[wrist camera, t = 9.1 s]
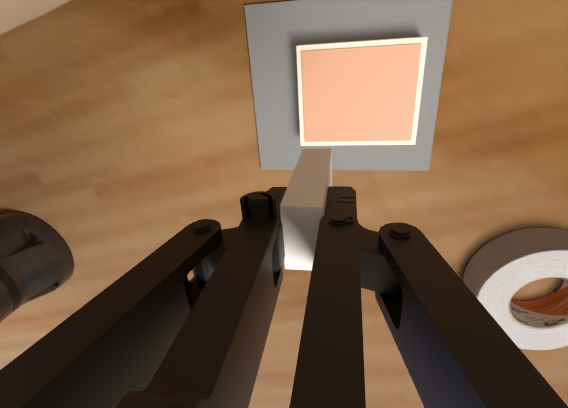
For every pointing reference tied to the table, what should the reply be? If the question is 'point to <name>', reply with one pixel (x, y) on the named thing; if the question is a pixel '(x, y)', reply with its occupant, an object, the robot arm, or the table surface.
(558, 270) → the tape roll
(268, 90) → the rubber mat
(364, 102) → the wooden plaque
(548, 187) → the table surface
